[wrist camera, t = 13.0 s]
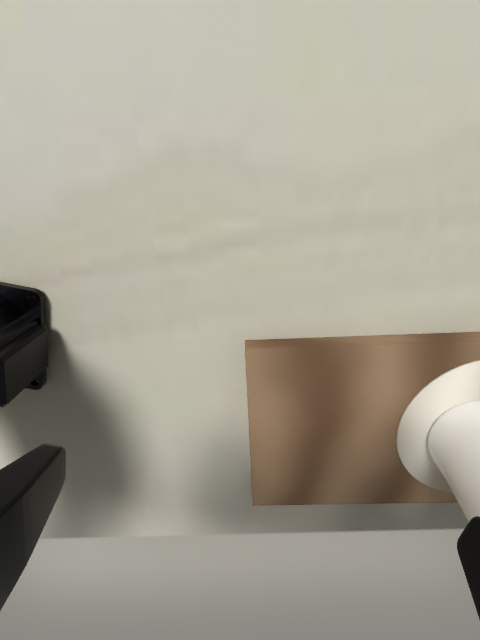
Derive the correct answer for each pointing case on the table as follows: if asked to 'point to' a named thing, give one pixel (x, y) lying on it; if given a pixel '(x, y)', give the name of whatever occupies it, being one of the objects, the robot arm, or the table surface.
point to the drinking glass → (459, 453)
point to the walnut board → (354, 415)
